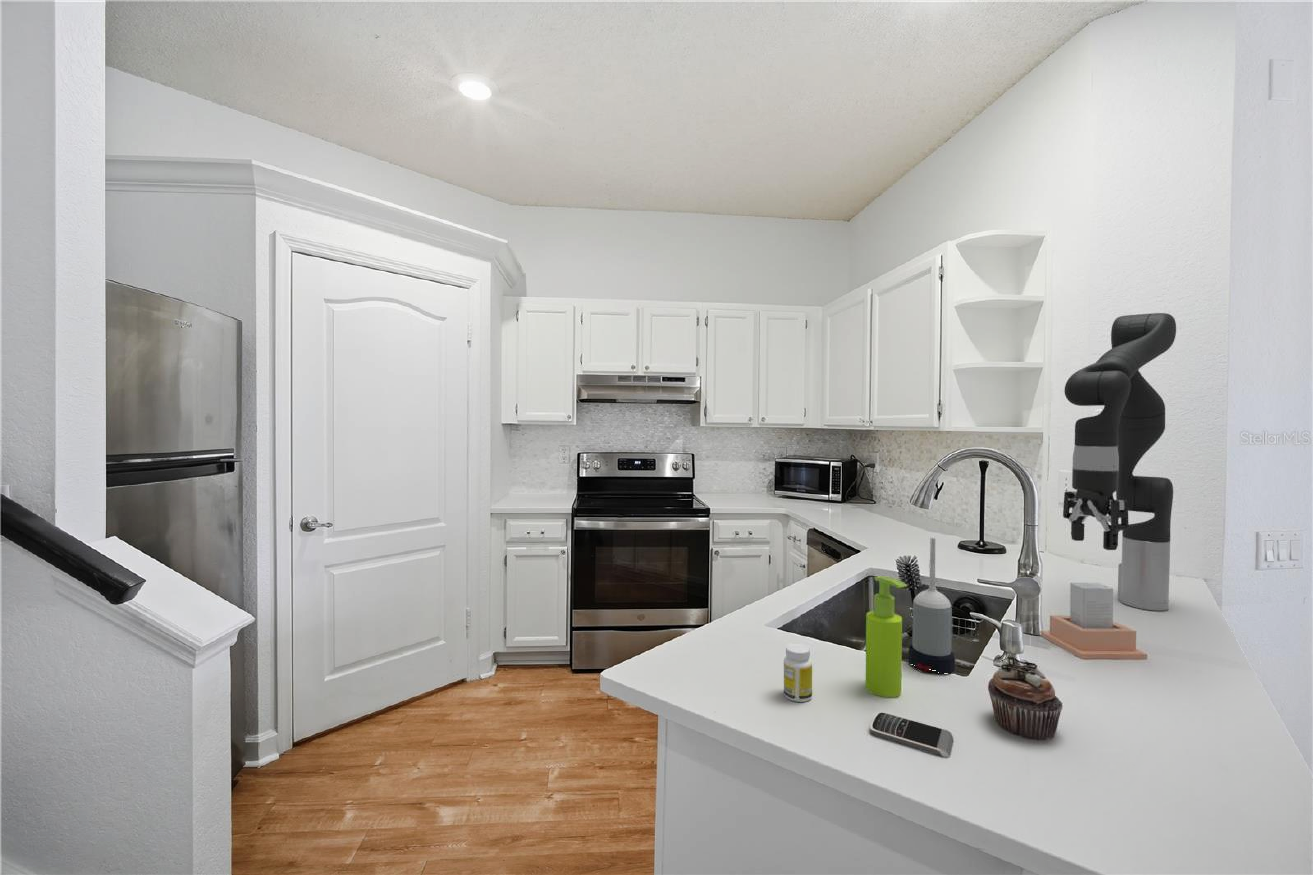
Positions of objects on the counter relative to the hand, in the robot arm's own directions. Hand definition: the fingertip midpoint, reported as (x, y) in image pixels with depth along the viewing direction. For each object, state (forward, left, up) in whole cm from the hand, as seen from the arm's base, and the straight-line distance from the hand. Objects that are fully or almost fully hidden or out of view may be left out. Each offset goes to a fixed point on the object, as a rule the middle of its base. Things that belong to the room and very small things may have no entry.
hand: (1093, 544), depth 115 cm
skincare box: (0, 0, -21) cm, 21 cm away
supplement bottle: (+21, -67, -22) cm, 73 cm away
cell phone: (+33, -53, -22) cm, 66 cm away
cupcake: (+30, -34, -22) cm, 50 cm away
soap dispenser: (+19, -51, -22) cm, 59 cm away
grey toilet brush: (+9, -38, -22) cm, 45 cm away
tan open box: (0, 0, -22) cm, 22 cm away
